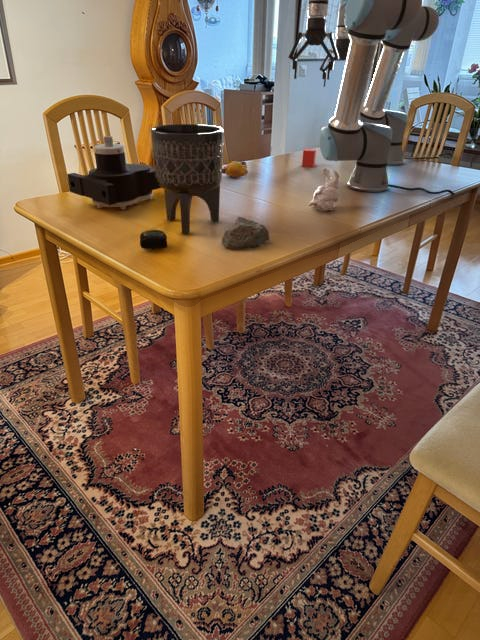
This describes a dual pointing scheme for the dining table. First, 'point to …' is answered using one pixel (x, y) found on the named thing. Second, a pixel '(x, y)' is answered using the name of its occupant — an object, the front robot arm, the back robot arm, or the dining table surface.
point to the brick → (309, 157)
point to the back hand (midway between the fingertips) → (338, 87)
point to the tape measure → (153, 239)
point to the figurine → (326, 192)
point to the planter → (188, 167)
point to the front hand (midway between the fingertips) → (311, 79)
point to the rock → (245, 234)
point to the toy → (235, 169)
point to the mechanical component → (114, 178)
